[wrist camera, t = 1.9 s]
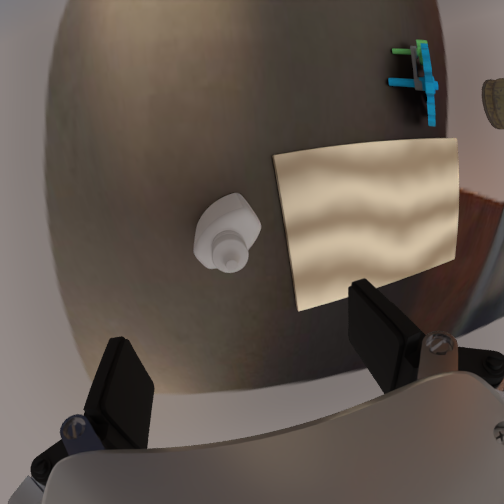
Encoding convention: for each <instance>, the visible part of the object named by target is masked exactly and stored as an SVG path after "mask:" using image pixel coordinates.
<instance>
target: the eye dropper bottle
mask: <svg viewBox="0 0 504 504" xmlns="http://www.w3.org/2000/svg"><path fill="white" fill-rule="evenodd" d="M260 230H261V223H260V221H259V219H258V217H257V216H256V214H255V213H254V211H253V210H252V208H251V206H250V205H249V204H248V202H247V201H246V200H245V199H244V197H243V196H242V195H241V194H239V193H232V194H229V195H226V196H224V197H222V198H220V199H218V200H217V201H215V202H214V203H213V204H211V205H210V206H209V207H208V208H207V209H206V211H205V212H204V213H203V214H202V216H201V218H200V219H199V221H198V223H197V227H196V233H195V240H194V251H193V252H194V255H195V256H196V258H197V259H198V260H199V261H200V262H201V263H202V264H203V265H204V266H205V267H206V268H208V269H215V268H218V269H219V270H221V271H223V272H226V273H227V272H228V273H233V272H236V271H239V270H241V269H242V268H243V267H244V266H245V265H246V263H247V260H248V256H249V255H248V250H249V248H250V247H251V246H252V245H253V243H254V242H255V240H256V239H257V237H258V235H259V233H260Z"/></svg>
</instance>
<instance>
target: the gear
mask: <svg viewBox="0 0 504 504" xmlns="http://www.w3.org/2000/svg"><path fill="white" fill-rule="evenodd" d="M416 42H417V47H418V49H416V46H410V49H392V52H393V54H406V55H411V56H412V64H413V74H414V79H405V78H388V81H389V86H401V87H415V90H420V91H425V93H426V94H427V108H428V125H429V126H435V103H434V94H435V90H438V82H437V81H434V77H432V68H431V62H430V55H429V49H428V44H427V40H416ZM418 56H419V60H420V65H422V66H424V73H425V76H424V77H418V74H417V65H416V59H418ZM422 57H423V58H422Z"/></svg>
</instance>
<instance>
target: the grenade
mask: <svg viewBox="0 0 504 504" xmlns="http://www.w3.org/2000/svg"><path fill="white" fill-rule="evenodd" d="M482 101H483V106H484V110H485V113H486V116H487V118H488V120H489V122H490V123H491V125H492V126H493V127H494V128H497V129H504V78H500V79H497V80H486V81H485V82H484V84H483V87H482Z"/></svg>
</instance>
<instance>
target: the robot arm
mask: <svg viewBox="0 0 504 504" xmlns="http://www.w3.org/2000/svg"><path fill="white" fill-rule="evenodd" d="M348 312H349V329H348V336H349V340H350V343H351V344H352V346H353V347H354V349H355V350H356V352H357V353H358V355H359V356H360V358H361V359H362V361H363V362H364V364H365V365H366V367H367V368H368V370H369V371H370V373H371V374H372V376H373V377H374V379H375V380H376V381H377V383H378V385H379V386H380V388H381V389H382V391H383V392H384V395H382V396H379V397H377V398H375V399H372V400H370V401H367V402H364V403H362V404H359V405H357V406H354V407H352V408H349V409H346V410H344V411H341V412H338V413H335V414H332V415H329V416H326V417H323V418H320V419H317V420H314V421H310V422H307V423H303V424H300V425H296V426H293V427H289V428H285V429H281V430H277V431H273V432H269V433H265V434H260V435H255V436H251V437H246V438H240V439H235V440H229V441H223V442H216V443H209V444H201V445H193V446H184V447H171V448H153V449H147V445H148V436H149V435H148V434H149V427H150V418H151V410H152V403H153V395H154V384H153V381H152V380H151V378H150V376H149V375H148V373H147V371H146V370H145V368H144V366H143V365H142V363H141V361H140V359H139V358H138V356H137V354H136V352H135V351H134V349H133V347H132V345H131V343H130V341H129V340H128V339H125V338H124V337H122V336H121V337H115V338H111V339H110V340H109V342H108V344H107V347H106V349H105V352H104V354H103V357H102V359H101V362H100V364H99V367H98V370H97V372H96V375H95V378H94V380H93V383H92V386H91V389H90V392H89V395H88V397H87V400H86V403H85V406H84V411H85V413H84V416H83V415H80V414H76V415H72V416H70V417H68V418H67V419H66V420H65V421H64V422H63V424H62V426H61V428H60V435H61V438H62V439H61V440H60V441H58V442H57V443H55V444H54V445H53V446H51V447H50V448H48V449H47V450H46V451H45V452H43V453H41V454H40V455H39V456H37V457H36V458H35V459H34V460H33V462H32V465H31V475H32V476H31V477H30V476H27V477H26V478H25V480H24V481H23V482H22V483H21V485H20V486H19V487H18V488H17V490H16V491H15V492H14V493H13V495H12V496H11V498H10V499H9V501H8V504H504V355H502V354H501V353H499V352H497V351H491V350H482V349H473V348H465V347H458V344H457V340H456V339H455V337H453V336H452V335H451V334H449V333H447V332H443V331H434V332H431V333H429V334H427V335H425V334H424V333H423V332H422V331H421V330H420V329H419V328H418V327H417V326H416V325H415V324H414V323H413V322H412V321H411V320H410V319H409V318H408V317H407V316H406V315H405V314H404V313H403V312H402V311H401V310H400V309H399V308H398V307H397V306H395V305H394V304H393V303H392V302H390V301H389V300H388V299H387V298H386V297H385V296H384V295H383V294H382V293H381V292H380V291H379V290H378V289H377V288H375V287H374V286H373V285H372V284H371V283H370V282H369V281H368V280H367V279H365V278H363V279H360V280H357V281H353V282H352V284H351V286H349V287H348Z"/></svg>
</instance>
